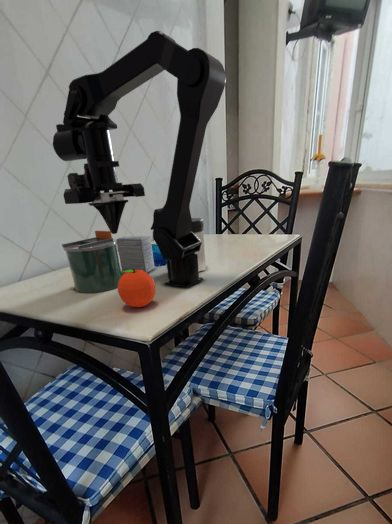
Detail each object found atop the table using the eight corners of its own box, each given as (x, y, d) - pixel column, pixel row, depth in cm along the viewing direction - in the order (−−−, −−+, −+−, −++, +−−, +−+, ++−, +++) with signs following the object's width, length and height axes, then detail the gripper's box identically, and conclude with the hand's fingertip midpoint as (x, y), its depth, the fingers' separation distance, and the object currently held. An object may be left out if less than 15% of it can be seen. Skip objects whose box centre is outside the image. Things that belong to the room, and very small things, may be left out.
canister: (134, 281, 75) (126, 237, 70) (95, 296, 67) (83, 247, 62) (103, 276, 82) (94, 235, 77) (64, 289, 74) (51, 244, 69)
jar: (183, 275, 76) (179, 223, 71) (167, 270, 83) (162, 221, 77) (213, 268, 81) (211, 218, 75) (195, 263, 87) (192, 217, 81)
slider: (113, 240, 72) (111, 230, 71) (94, 244, 68) (92, 234, 67) (99, 239, 74) (98, 230, 73) (81, 243, 71) (79, 234, 70)
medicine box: (155, 269, 84) (150, 235, 80) (146, 273, 81) (141, 238, 77) (131, 268, 87) (125, 235, 83) (121, 272, 84) (115, 238, 80)
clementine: (109, 312, 58) (101, 274, 55) (126, 299, 64) (120, 264, 60) (149, 313, 56) (143, 274, 52) (163, 300, 62) (158, 264, 58)
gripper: (109, 160, 78) (121, 227, 85) (39, 161, 65) (60, 239, 72) (141, 155, 72) (150, 227, 79) (70, 155, 59) (89, 241, 66)
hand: (114, 233), depth 74 cm, fingers closed
